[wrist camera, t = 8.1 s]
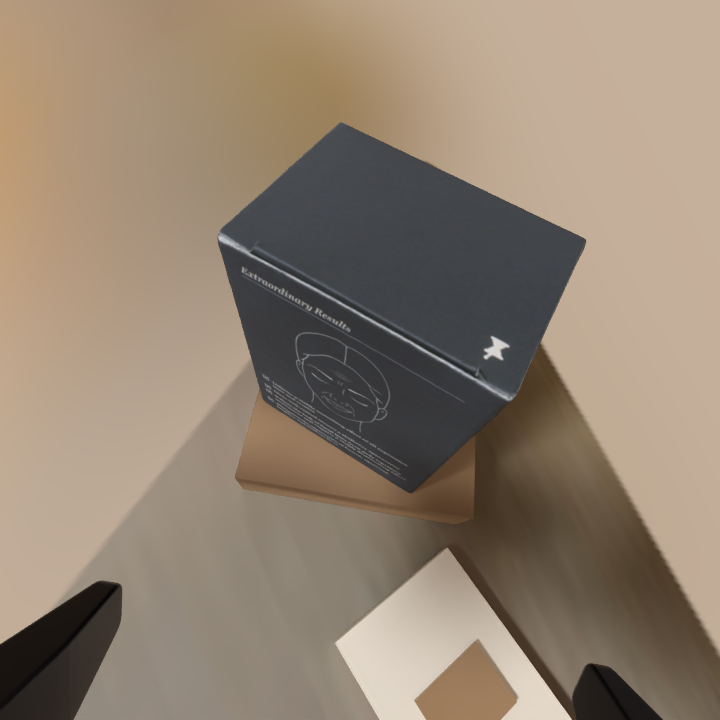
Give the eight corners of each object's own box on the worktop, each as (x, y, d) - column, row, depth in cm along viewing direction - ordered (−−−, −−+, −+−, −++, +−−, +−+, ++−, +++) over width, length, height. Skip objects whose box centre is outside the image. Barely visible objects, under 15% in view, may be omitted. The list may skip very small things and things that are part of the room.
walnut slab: (455, 524, 20) (473, 518, 18) (243, 488, 20) (234, 477, 18) (463, 341, 25) (478, 317, 22) (290, 310, 24) (288, 283, 22)
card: (592, 754, 17) (604, 762, 16) (481, 893, 15) (490, 909, 14) (443, 548, 20) (448, 547, 19) (334, 640, 18) (335, 644, 17)
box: (466, 393, 20) (597, 236, 11) (410, 498, 18) (517, 410, 9) (327, 312, 22) (340, 110, 12) (257, 400, 19) (206, 230, 10)
